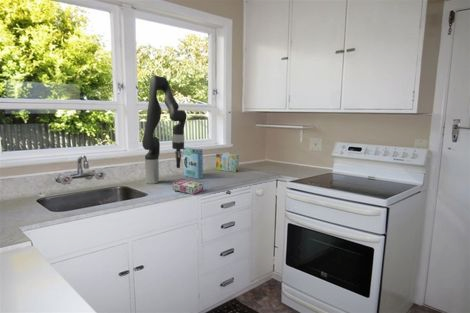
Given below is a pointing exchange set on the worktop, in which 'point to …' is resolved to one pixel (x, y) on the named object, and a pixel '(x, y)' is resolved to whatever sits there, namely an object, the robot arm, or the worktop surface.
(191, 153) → the gum box
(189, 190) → the candy bar box
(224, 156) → the snack box
